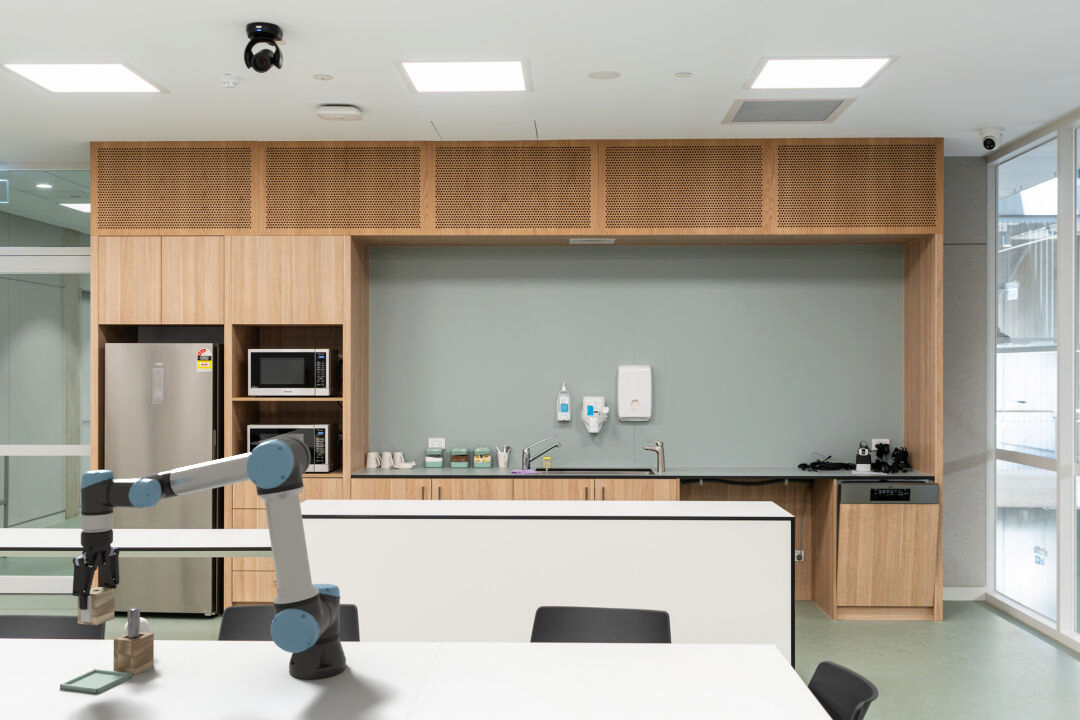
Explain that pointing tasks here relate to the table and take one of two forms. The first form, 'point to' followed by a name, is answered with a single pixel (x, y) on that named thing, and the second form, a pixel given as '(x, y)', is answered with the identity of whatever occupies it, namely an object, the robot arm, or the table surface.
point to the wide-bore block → (134, 653)
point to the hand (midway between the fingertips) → (96, 617)
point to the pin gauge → (133, 623)
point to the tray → (95, 681)
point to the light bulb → (143, 626)
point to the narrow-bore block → (100, 606)
